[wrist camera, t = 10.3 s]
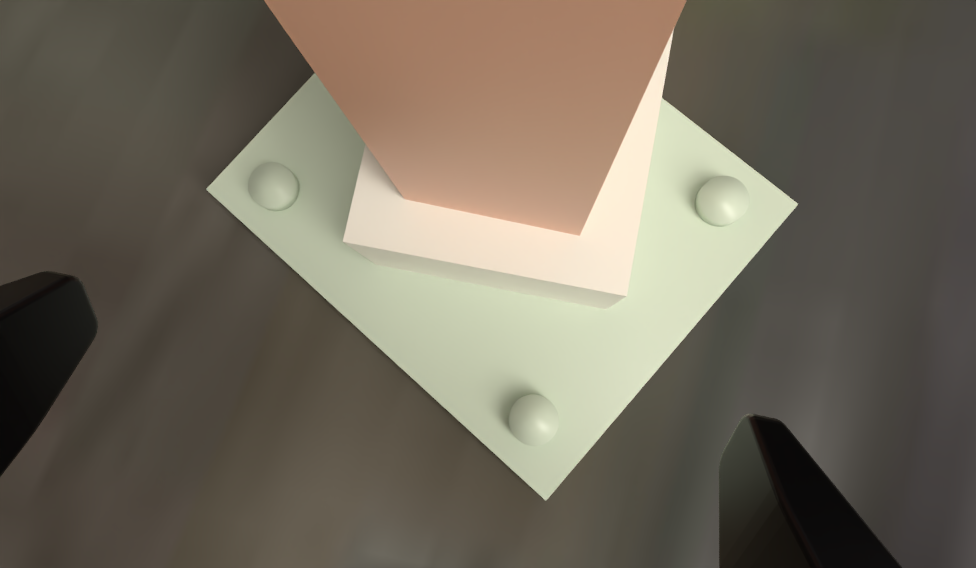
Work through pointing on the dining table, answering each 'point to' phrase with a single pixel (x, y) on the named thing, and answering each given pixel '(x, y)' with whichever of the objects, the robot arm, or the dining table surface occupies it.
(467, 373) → the tower base
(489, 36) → the column brick
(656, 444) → the dining table surface
